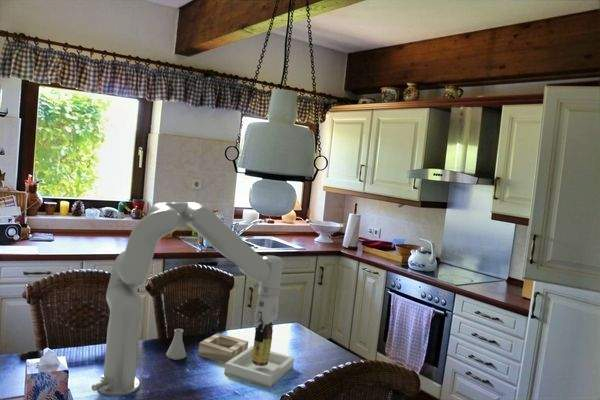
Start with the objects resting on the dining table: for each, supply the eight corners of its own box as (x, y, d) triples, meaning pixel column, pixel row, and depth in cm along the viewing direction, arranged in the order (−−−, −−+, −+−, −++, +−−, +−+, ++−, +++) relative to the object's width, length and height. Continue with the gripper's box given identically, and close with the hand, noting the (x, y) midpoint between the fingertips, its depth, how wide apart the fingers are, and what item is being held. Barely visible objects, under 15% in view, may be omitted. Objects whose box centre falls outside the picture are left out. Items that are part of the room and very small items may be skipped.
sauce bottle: (249, 359, 183) (256, 307, 182) (266, 359, 185) (272, 308, 184) (253, 367, 177) (260, 313, 176) (270, 367, 179) (277, 313, 178)
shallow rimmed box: (230, 365, 183) (231, 352, 183) (198, 355, 188) (199, 342, 188) (247, 353, 195) (248, 341, 195) (216, 344, 200) (217, 332, 200)
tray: (269, 388, 169) (271, 377, 168) (224, 374, 176) (225, 363, 175) (292, 368, 187) (294, 357, 187) (250, 355, 194) (252, 345, 194)
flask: (174, 361, 181) (177, 335, 180) (162, 355, 185) (164, 329, 184) (190, 357, 186) (192, 331, 185) (177, 350, 191) (180, 325, 190)
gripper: (267, 297, 169) (261, 348, 171) (288, 287, 185) (282, 334, 187) (248, 292, 172) (242, 343, 174) (270, 283, 188) (264, 329, 190)
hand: (263, 338), depth 180 cm, fingers closed on sauce bottle, 6 cm apart
